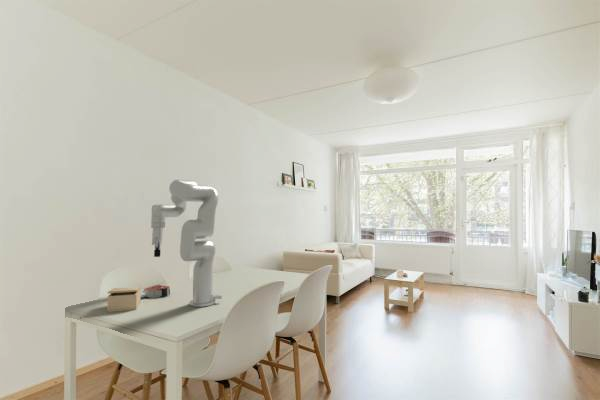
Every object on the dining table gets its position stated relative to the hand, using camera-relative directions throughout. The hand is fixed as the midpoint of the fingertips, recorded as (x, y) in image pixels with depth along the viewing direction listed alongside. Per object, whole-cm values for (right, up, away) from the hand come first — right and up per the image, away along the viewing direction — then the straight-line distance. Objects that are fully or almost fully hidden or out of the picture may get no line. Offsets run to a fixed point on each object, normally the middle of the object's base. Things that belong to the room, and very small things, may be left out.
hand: (157, 256), depth 189 cm
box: (-1, -18, -34) cm, 39 cm away
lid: (-1, -11, -34) cm, 35 cm away
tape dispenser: (+3, -20, -14) cm, 25 cm away
